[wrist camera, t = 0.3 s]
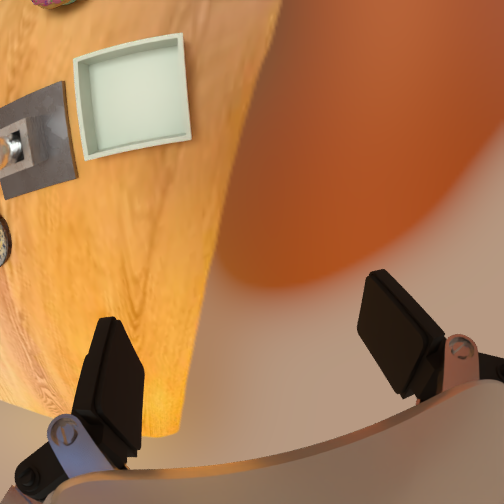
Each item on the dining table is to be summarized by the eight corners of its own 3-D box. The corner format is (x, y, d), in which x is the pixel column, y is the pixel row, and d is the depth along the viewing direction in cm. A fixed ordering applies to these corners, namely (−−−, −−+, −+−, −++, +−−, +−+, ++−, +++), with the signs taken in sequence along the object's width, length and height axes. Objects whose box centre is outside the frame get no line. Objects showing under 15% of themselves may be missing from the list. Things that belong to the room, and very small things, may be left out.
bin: (86, 63, 26) (73, 58, 22) (183, 41, 28) (182, 32, 24) (96, 154, 33) (84, 161, 29) (192, 136, 35) (191, 139, 31)
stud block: (-8, 113, 25) (-26, 117, 21) (64, 81, 27) (48, 79, 22) (8, 198, 32) (-9, 209, 27) (78, 176, 34) (64, 186, 29)
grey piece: (8, 129, 26) (-38, 143, 17) (41, 115, 27) (-4, 123, 18) (15, 170, 29) (-28, 194, 20) (48, 158, 30) (5, 180, 21)
